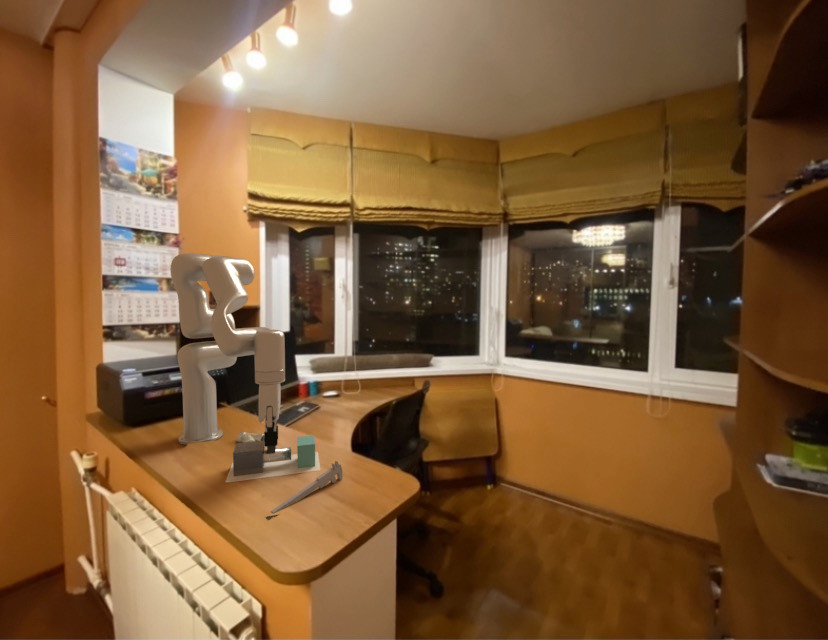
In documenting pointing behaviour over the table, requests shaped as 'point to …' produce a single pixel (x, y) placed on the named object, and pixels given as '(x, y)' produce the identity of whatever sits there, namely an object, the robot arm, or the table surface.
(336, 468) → the caliper
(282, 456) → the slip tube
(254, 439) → the pipe fitting
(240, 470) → the dark grey block
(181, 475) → the table surface
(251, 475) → the base board
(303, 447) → the socket block
